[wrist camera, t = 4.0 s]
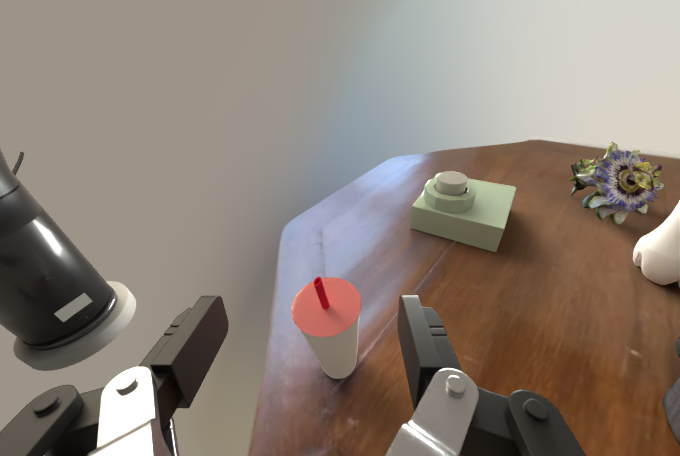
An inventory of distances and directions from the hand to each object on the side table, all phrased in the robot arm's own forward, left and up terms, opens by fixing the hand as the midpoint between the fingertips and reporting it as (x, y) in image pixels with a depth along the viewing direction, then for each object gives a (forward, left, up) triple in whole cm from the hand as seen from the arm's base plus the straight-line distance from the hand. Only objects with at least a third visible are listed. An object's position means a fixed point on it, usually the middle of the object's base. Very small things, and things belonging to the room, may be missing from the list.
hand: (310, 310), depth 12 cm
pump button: (-1, +32, -10) cm, 34 cm away
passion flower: (+18, +46, -16) cm, 52 cm away
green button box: (+1, +34, -16) cm, 38 cm away
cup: (-3, +5, -16) cm, 17 cm away
